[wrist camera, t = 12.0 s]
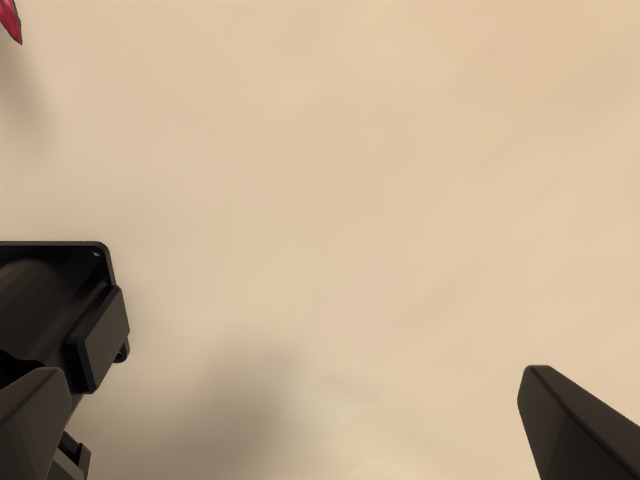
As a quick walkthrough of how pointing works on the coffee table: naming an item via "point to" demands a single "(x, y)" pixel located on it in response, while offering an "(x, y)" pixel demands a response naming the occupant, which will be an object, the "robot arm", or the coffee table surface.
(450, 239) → the coffee table surface
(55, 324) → the robot arm
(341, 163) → the coffee table surface
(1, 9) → the decorative bird figurine
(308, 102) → the coffee table surface
